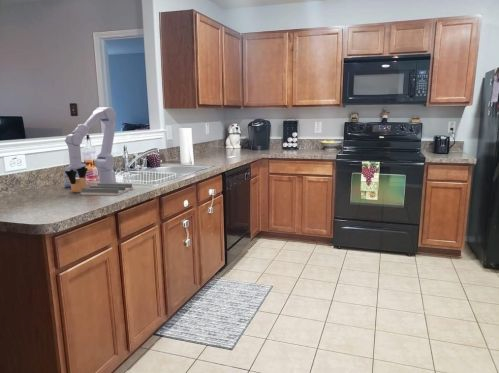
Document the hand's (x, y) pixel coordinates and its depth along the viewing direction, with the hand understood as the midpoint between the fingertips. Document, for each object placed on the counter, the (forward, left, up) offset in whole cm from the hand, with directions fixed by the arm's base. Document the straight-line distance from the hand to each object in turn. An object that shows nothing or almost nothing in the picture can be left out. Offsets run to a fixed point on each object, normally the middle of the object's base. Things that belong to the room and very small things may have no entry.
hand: (77, 182), depth 204 cm
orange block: (0, 0, -5) cm, 5 cm away
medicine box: (-12, -12, -5) cm, 18 cm away
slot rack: (0, +17, -5) cm, 18 cm away
